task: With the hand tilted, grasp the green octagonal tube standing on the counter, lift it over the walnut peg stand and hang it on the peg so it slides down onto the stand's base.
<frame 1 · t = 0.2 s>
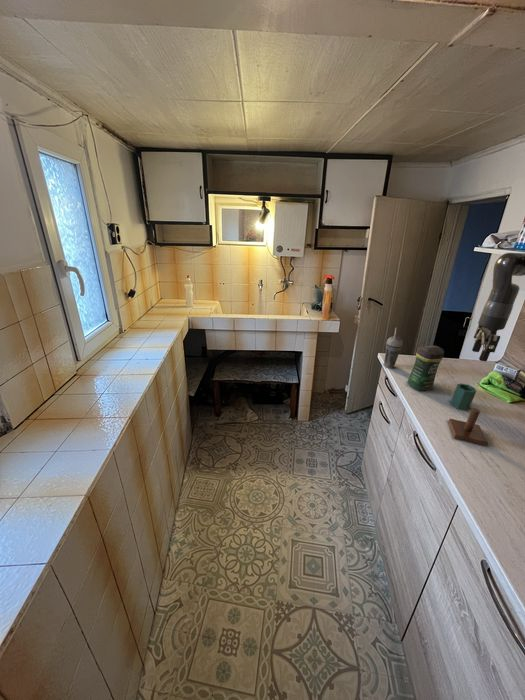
hand: (478, 355, 104), 20 cm above the counter, tool pointing down, fingers open, 8 cm apart
peg stand: (466, 433, 94), on the counter
green octagonal tube: (459, 405, 109), on the counter
coffee jar: (419, 386, 121), on the counter
beverage cup: (388, 366, 137), on the counter
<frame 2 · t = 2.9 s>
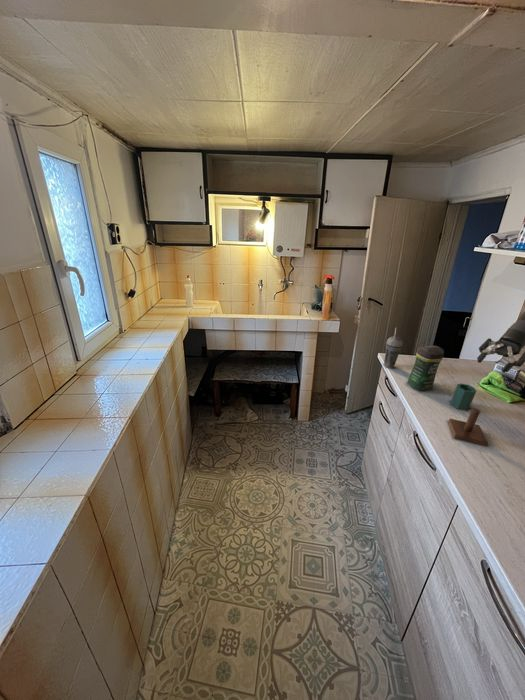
hand: (490, 366, 108), 15 cm above the counter, tool tilted 45°, fingers open, 8 cm apart
nothing on the counter moved.
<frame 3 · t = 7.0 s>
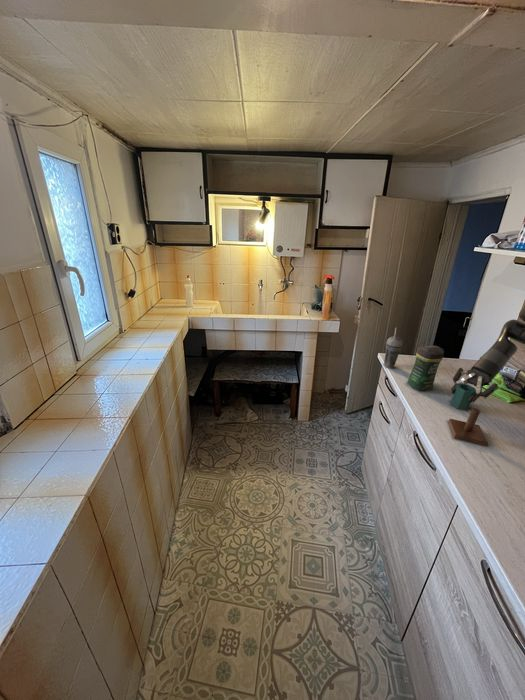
hand: (460, 396, 107), 4 cm above the counter, tool tilted 45°, fingers closed on green octagonal tube, 6 cm apart
green octagonal tube: (459, 405, 109), on the counter, touching gripper
everything else where it was.
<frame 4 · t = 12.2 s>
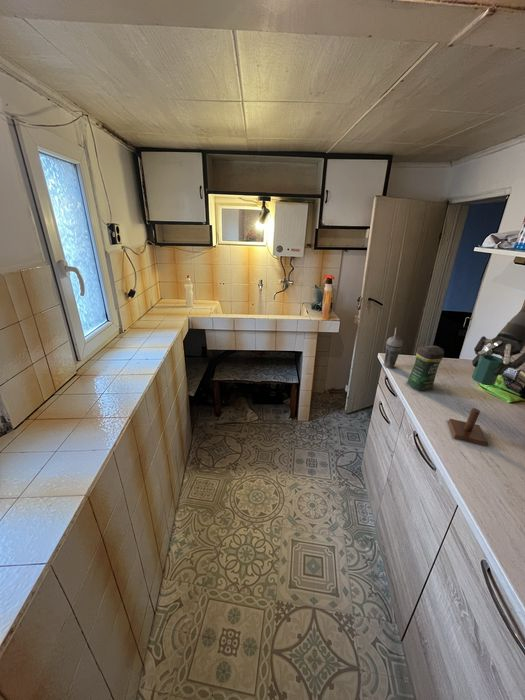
hand: (484, 369, 89), 22 cm above the counter, tool tilted 45°, fingers closed on green octagonal tube, 5 cm apart
green octagonal tube: (482, 380, 92), point 18 cm above the counter, touching gripper
everything else where it was.
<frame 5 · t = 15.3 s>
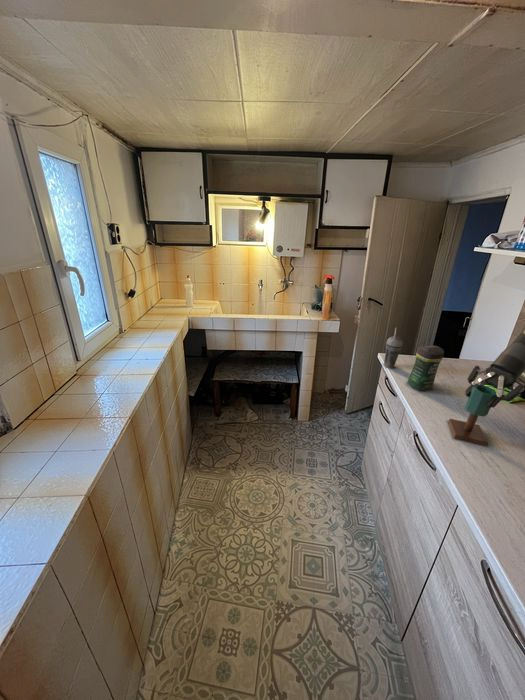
hand: (477, 400, 88), 14 cm above the counter, tool tilted 45°, fingers closed on green octagonal tube, 5 cm apart
green octagonal tube: (475, 410, 91), point 9 cm above the counter, touching gripper
everything else where it was.
when the fingers open (6 cm above the counter, at t = 17.9 s): green octagonal tube stays where it is, resting on peg stand.
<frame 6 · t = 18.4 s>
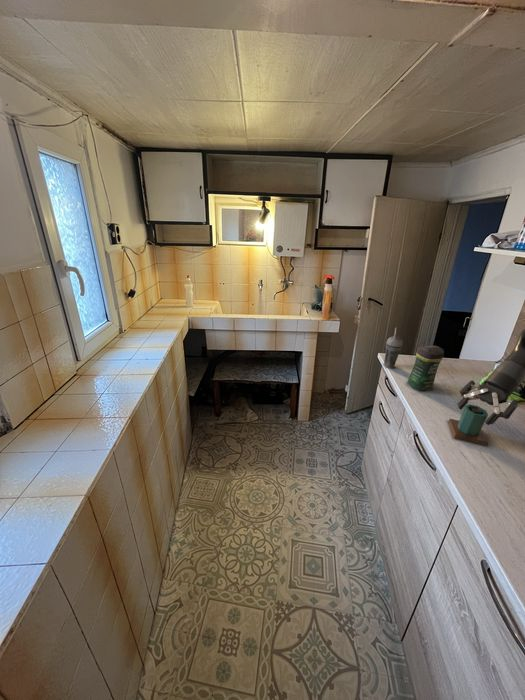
hand: (472, 415, 90), 8 cm above the counter, tool tilted 45°, fingers open, 8 cm apart
green octagonal tube: (467, 429, 94), point 1 cm above the counter, touching peg stand
everything else where it was.
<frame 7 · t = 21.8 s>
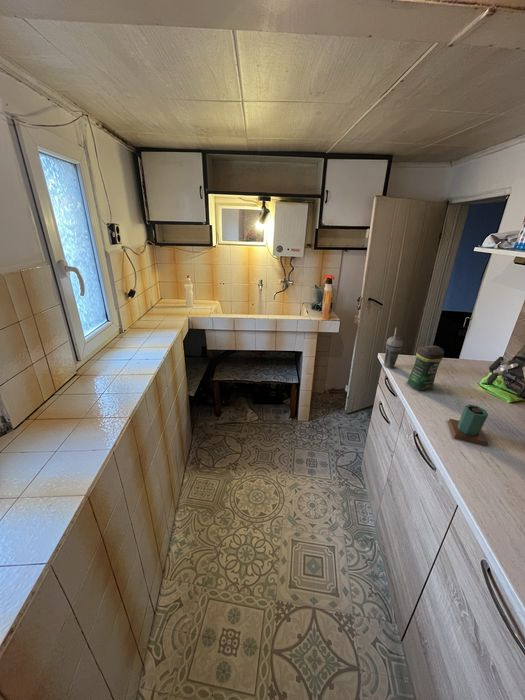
hand: (502, 389, 93), 15 cm above the counter, tool tilted 45°, fingers open, 8 cm apart
nothing on the counter moved.
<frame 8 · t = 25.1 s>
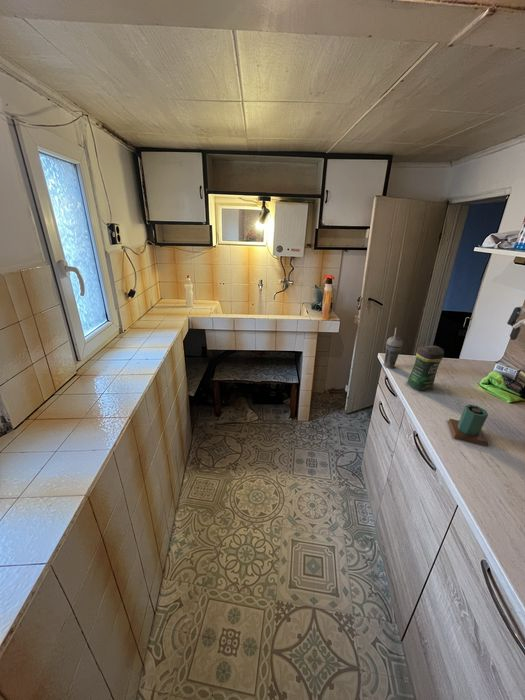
nothing on the counter moved.
at the end: green octagonal tube 0.1 cm from the peg stand (horizontally); green octagonal tube point 1.5 cm above the counter; green octagonal tube tilted 0° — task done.
